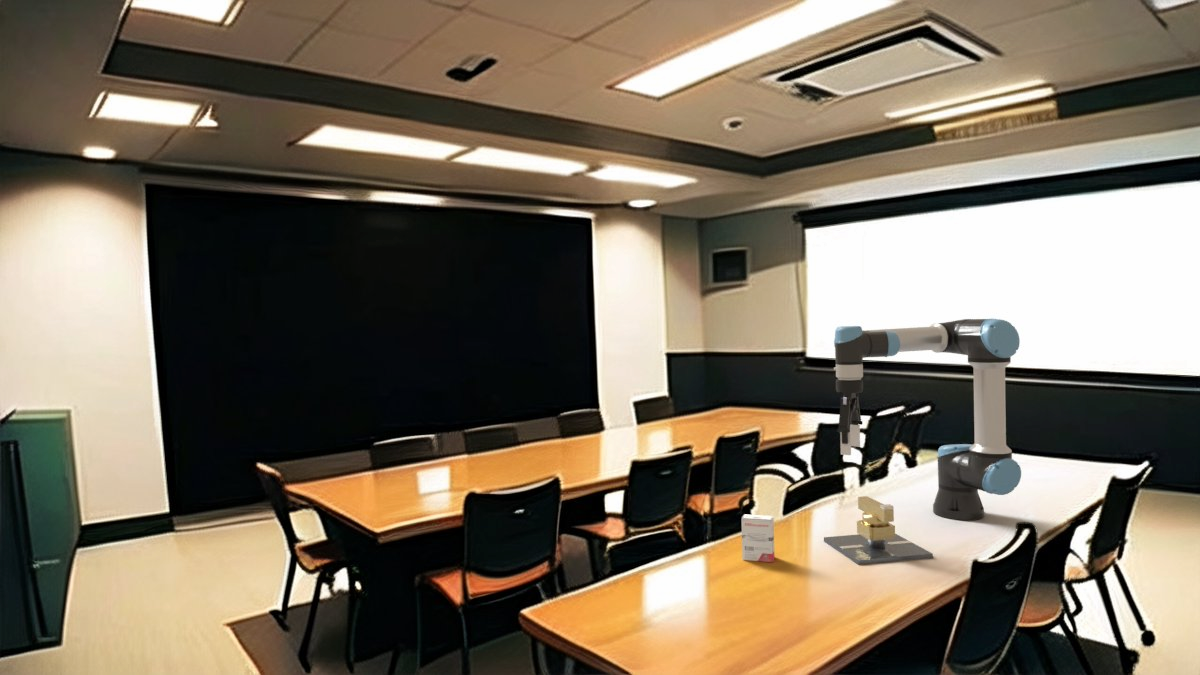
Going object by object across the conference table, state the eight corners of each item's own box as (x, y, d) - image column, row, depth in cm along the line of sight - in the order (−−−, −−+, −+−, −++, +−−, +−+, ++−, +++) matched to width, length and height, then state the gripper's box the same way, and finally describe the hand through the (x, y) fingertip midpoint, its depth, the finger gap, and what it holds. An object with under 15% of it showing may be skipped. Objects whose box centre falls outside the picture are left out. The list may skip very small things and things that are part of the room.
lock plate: (891, 535, 211) (891, 512, 211) (932, 557, 191) (932, 532, 191) (823, 541, 208) (823, 517, 208) (858, 564, 188) (857, 538, 188)
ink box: (775, 556, 196) (774, 514, 196) (773, 562, 192) (772, 520, 191) (744, 554, 199) (743, 513, 199) (741, 560, 194) (740, 518, 194)
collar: (875, 527, 207) (874, 492, 207) (902, 542, 193) (901, 505, 193) (850, 529, 206) (850, 494, 205) (876, 544, 192) (875, 507, 192)
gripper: (844, 374, 217) (846, 442, 217) (826, 382, 195) (827, 457, 196) (870, 375, 213) (871, 443, 213) (854, 383, 191) (855, 459, 192)
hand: (850, 450), depth 205 cm, fingers open, 13 cm apart
